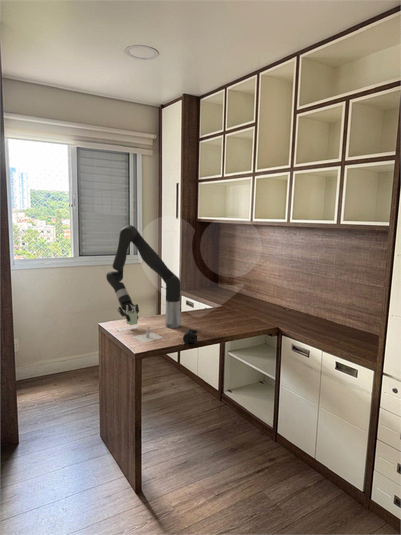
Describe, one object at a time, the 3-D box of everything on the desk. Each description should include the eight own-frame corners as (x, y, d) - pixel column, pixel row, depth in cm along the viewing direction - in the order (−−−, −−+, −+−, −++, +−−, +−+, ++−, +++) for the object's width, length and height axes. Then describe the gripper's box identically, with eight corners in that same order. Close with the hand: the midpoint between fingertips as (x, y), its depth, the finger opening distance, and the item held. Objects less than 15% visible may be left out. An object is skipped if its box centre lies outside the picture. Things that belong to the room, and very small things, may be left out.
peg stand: (152, 334, 220) (152, 322, 219) (163, 340, 211) (163, 327, 210) (131, 339, 210) (131, 327, 209) (143, 345, 202) (143, 332, 200)
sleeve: (133, 322, 228) (133, 311, 227) (137, 324, 224) (137, 313, 223) (126, 323, 225) (126, 312, 224) (130, 325, 221) (130, 314, 220)
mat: (136, 326, 235) (136, 325, 235) (148, 331, 225) (148, 330, 225) (116, 330, 226) (116, 329, 226) (128, 336, 216) (128, 335, 215)
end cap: (185, 338, 214) (185, 327, 213) (197, 339, 213) (197, 328, 212) (182, 344, 204) (182, 333, 203) (195, 345, 203) (195, 334, 202)
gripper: (115, 295, 223) (125, 319, 216) (135, 292, 232) (145, 315, 225) (111, 302, 228) (120, 325, 220) (131, 299, 237) (141, 321, 230)
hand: (133, 320), depth 223 cm, fingers closed on sleeve, 4 cm apart
